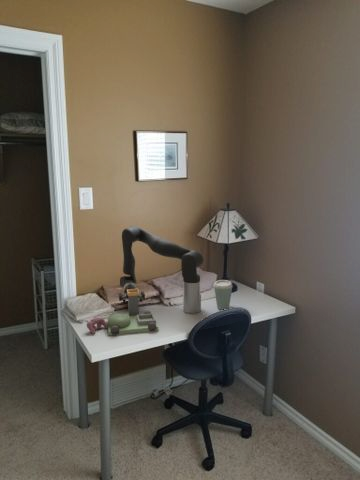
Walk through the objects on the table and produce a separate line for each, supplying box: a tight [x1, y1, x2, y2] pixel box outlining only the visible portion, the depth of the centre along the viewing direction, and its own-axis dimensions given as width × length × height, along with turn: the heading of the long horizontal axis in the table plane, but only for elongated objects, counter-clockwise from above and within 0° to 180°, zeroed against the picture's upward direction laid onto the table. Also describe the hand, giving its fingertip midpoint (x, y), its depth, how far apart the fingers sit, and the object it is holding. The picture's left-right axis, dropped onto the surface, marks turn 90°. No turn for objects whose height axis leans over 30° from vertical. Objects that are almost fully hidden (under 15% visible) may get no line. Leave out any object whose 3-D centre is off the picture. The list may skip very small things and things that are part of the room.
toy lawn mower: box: [107, 310, 159, 336], centre depth 196 cm, size 24×16×5 cm
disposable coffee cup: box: [213, 279, 233, 311], centre depth 218 cm, size 11×11×15 cm
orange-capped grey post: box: [127, 288, 140, 316], centre depth 208 cm, size 6×6×14 cm
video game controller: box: [86, 317, 108, 335], centre depth 192 cm, size 10×5×7 cm, turn 142°
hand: (133, 300), depth 210 cm, fingers open, 8 cm apart
